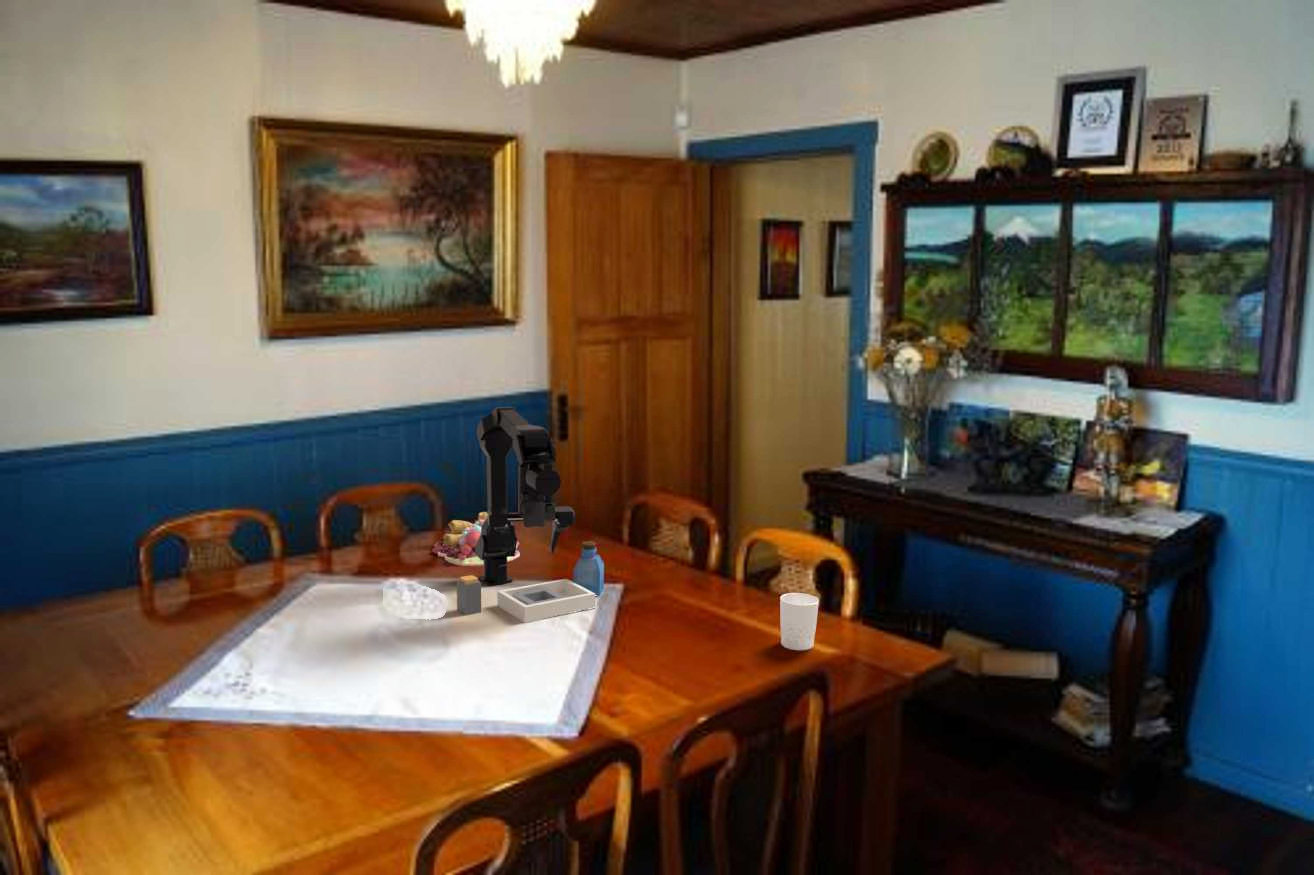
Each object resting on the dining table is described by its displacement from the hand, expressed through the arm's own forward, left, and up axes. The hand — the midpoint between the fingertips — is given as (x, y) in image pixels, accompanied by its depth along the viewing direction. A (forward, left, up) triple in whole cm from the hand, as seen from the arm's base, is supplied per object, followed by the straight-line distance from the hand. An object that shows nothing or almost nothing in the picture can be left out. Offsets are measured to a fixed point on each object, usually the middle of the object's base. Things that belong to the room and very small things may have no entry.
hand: (530, 554), depth 232 cm
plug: (-8, -11, -14) cm, 19 cm away
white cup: (+46, +38, -14) cm, 61 cm away
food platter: (-50, +12, -14) cm, 53 cm away
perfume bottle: (-6, +19, -14) cm, 24 cm away
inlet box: (-2, +5, -14) cm, 15 cm away
